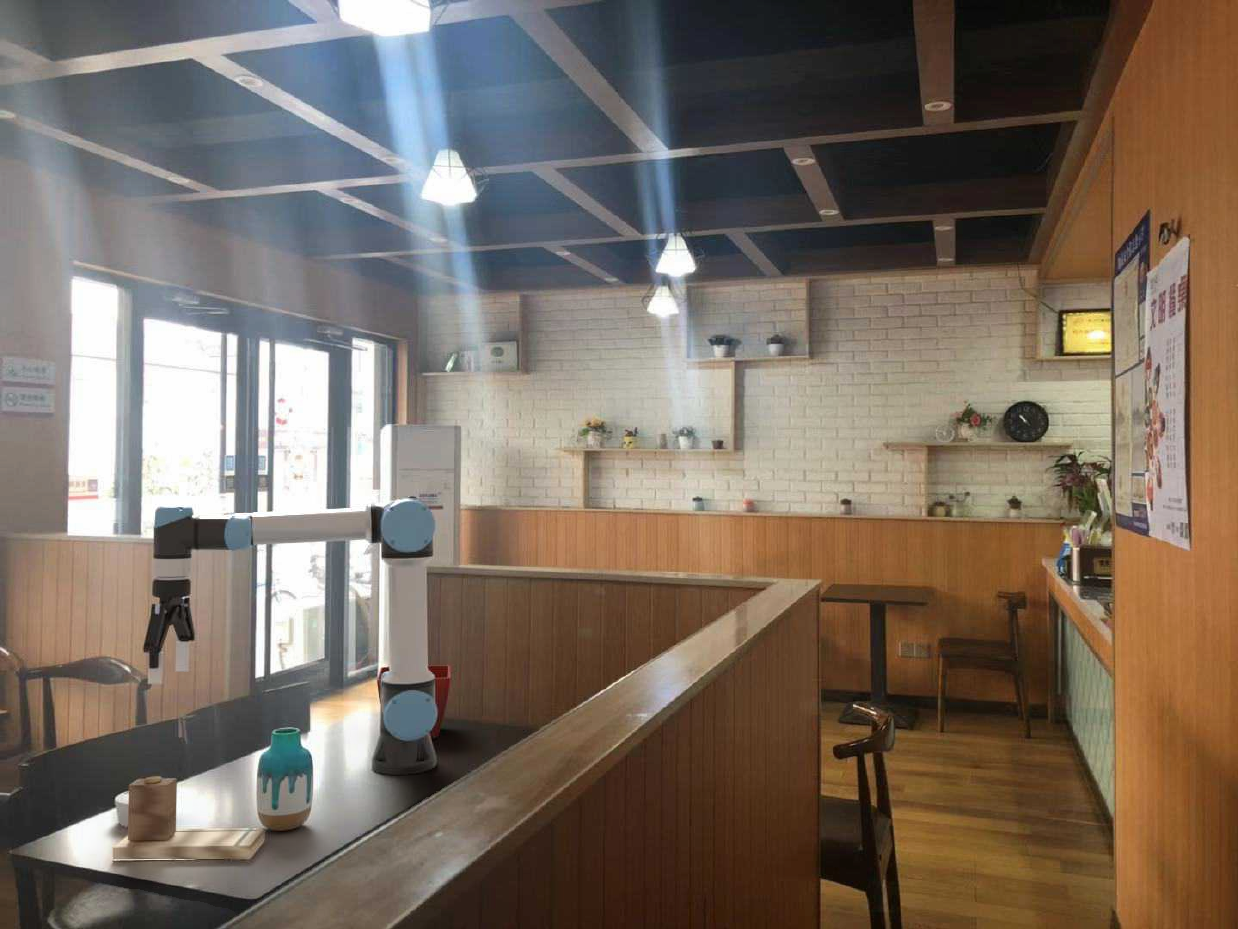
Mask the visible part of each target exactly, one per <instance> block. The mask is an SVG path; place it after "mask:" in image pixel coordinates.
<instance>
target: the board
mask: <svg viewBox="0 0 1238 929" xmlns="http://www.w3.org/2000/svg"><path fill="white" fill-rule="evenodd" d="M265 828H266V827H246V828H245V827H244V828H243V827H237V828H235V827H234V828H233V827H232V828H231V827H230V828H229V827H228V828H227V827H226V828H176V833H174V834H173V835H172V836H171V837H170V838H169V839H168V840H134V841H128V835H126V836H125V837H123V839H121V840H120V841H119V842H118V843H117V844H116V845H114V846H113V847H112V860H113V859H226V860H225V861H228V860H227V859H230V861H232V860H233V859H234V861H235V860H241V859H242V860H243V859H244V860H251V859H252V857H253V856H254V855H255V854H256V852H257V851H258V850H259V849H260V847H261V846H262V845H263V844H264V842H265V841H266V840H265V838H266V837H265V836H266V834H265V832H266V829H265Z"/></svg>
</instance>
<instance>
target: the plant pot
mask: <svg viewBox="0 0 1238 929" xmlns="http://www.w3.org/2000/svg"><path fill="white" fill-rule="evenodd" d="M428 669H429V671H430V672H431V673H432V674H434V675H435V703H436V707H437V710H438V714H437V719H436V722H435V725H434V727H433V728H432V730H431V731H430V732H429V734H430V737H431V739H435V738H438V737H439V734H440V731H441V728H442V725H443V722H444V717H445V714H446V709H447V704H448V698H449V693H450V686H451V678H452V677H451V676H452V675H451V665H448V664H444V665H442V664H440V665H435V664H434V665H428ZM387 671H389V666H384V667H383V666H382V667H380V670H379V673H378V676H377V679H376V684H377V691H378V692H377V693H378V697H379V700H378V701H379V704H380V703H381V686H380V682H381V676H382V674H383V673H384V672H387Z"/></svg>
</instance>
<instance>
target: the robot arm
mask: <svg viewBox="0 0 1238 929" xmlns="http://www.w3.org/2000/svg"><path fill="white" fill-rule="evenodd" d="M193 510H194V509H193V508H192V507H191V506H187V505H164V506H163V505H161V506H158V507H157V508H156V509H155V512H154V522H153V523H154V524H153V548H152V549H153V554H152V555H153V556H152V558H153V561H152V562H151V563H150V564H151V567H152V576H153V577H154V579H153V580H152V583H151V584H152V589H151V595H152V596H153V597H155V598H158V599H159V602H158V603H152V604H151V608H150V610H151V611H150V617H149V621H148V625H147V629H146V630H147V631H146V635H145V639H144V643H143V647H142V651H143V653H148V659H147V660H148V663H147V685H162V684H163V682H164V681H163V679H164V651H162V650H163V646H164V643H165V641H166V638H167V635H168V631H169V629H170V627H171V626H173V628H174V631H175V634H176V637H177V639H178V641H176V642H175V668H174V670H175V672H187V673H188V672H190V658H191V657H190V655H191V652H190V651H191V642H193V641H195V640H196V637H195V635H196V632H195V626H194V623H193V622H194V621H193V616H192V611H191V602H190V601H191V600H190V597H189V596H190V595H191V587H192V579H191V578H189V577H190V576H192V563H193V562H192V561H193V560H192V551H200V550H201V551H202V550H203V551H232V552H235V551H243V550H246V551H247V550H248V549H249V548H250V547H251V546H255V545H256V546H260V545H261V546H262V545H278V544H279V545H280V544H298V543H299V544H300V543H301V544H303V543H320V542H323V543H324V542H339V541H340V542H342V541H343V542H345V541H361V540H364V541H367V542H368V543H369V544H380V550H381V551H380V552H381V553H380V554H381V557H380V558H381V560H382V561H383V562H384V563H385V564H386V566H387V567H388V568H387V571H388V572H387V574H388V576H387V577H388V578H387V580H388V643H389V644H388V645H389V646H388V649H389V650H388V652H389V654H388V660H389V663H388V664H389V666H388V667H389V671H387V672H384V673H383V674H382V676H381V682H380V686H381V703H380V702H379V706H380V709H379V710H380V714H379V715H380V716H379V718H380V719H379V722H380V723H379V737H378V740H377V743H376V745H375V749H374V752H373V755H372V758H371V769H372V770H373V771H374V772H376V773H380V774H382V775H391V776H405V775H407V776H408V775H415V774H420V773H424V772H427V771H430V770H432V769H434V768H435V767H436V766H437V754H436V751H435V748H434V744H433V742H432V738H431V737H430V734H429V732H430V731H431V730H432V728H433V727H434V725H435V722H436V719H437V714H438V710H437V707H436V703H435V675H434V674H432V673H431V672H430V671H429V669H428V666H429V662H428V661H429V660H428V659H429V656H428V655H429V654H428V653H429V652H428V651H429V650H428V649H429V648H428V583H427V582H428V580H427V578H428V577H427V576H428V574H427V570H428V567H427V565H428V563H430V561H431V560H432V559H433V558H434V534H435V530H436V520H435V516H434V514H433V512H432V510H431V509H430V508H429V507H428V505H426V504H425V503H424V502H422V501H420V500H419V499H416V498H409V497H407V498H406V497H404V498H403V497H401V498H397V499H393V500H390V501H382V502H374V503H373V502H371V503H368V504H366V506H364V507H356V508H355V507H353V508H333V509H332V508H329V509H328V508H327V509H307V510H306V509H305V510H303V509H302V510H288V511H287V510H284V511H282V510H281V511H265V512H263V511H261V512H241V513H237V512H226V513H223V514H221V515H197V514H194V511H193Z"/></svg>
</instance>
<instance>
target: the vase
mask: <svg viewBox="0 0 1238 929" xmlns="http://www.w3.org/2000/svg"><path fill="white" fill-rule="evenodd" d="M313 762H314V761H313V757H312V753H311V752H310V750H309V749H308V748H306V747H305V746H304V747H303V745H302V739H301V730H300V729H299V728H297V727H281V728H277V729H274V730H272V731H271V739H270V746H269V749H267V750H265V751H264V752H263V753H262V754H261V755H260V757H259V761H258V764H257V770H256V794H255V796H256V812H257V817H258V820H259V821H260V824H261V825H262V826H263V828H266V829H267V830H271V831H275V832H276V831H278V832H280V831H281V832H282V831H284V832H285V831H290V830H293V829H296V828H299V827H300V826H302V825H303V824H305V823H306V821H307V820H308V819H309V817H310V815H311V811H312V806H313V796H314V763H313Z"/></svg>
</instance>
